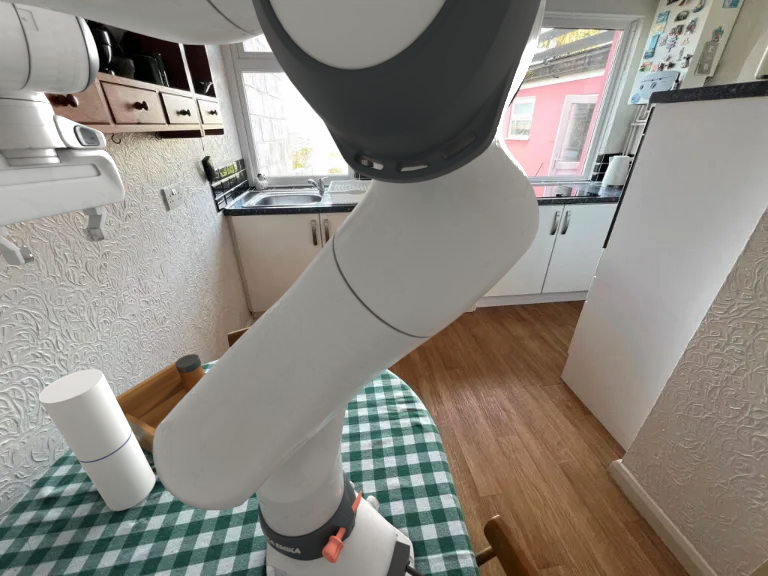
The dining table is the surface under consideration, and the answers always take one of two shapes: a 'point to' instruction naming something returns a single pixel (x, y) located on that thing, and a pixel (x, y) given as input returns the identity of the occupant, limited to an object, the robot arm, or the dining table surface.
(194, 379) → the spice rack
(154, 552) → the dining table surface
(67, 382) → the cylindrical container
